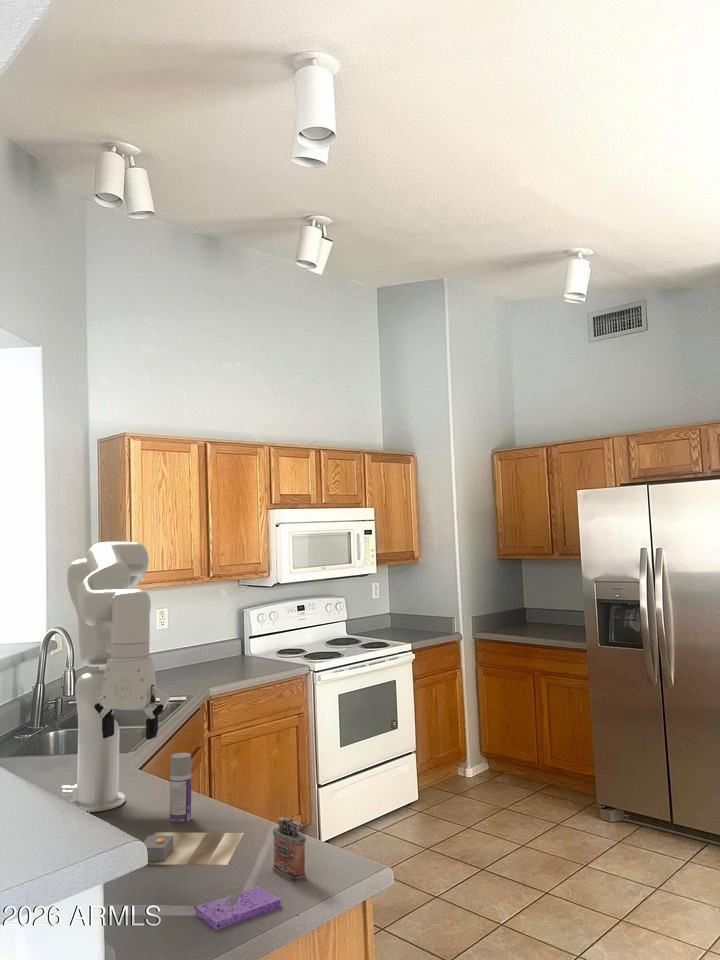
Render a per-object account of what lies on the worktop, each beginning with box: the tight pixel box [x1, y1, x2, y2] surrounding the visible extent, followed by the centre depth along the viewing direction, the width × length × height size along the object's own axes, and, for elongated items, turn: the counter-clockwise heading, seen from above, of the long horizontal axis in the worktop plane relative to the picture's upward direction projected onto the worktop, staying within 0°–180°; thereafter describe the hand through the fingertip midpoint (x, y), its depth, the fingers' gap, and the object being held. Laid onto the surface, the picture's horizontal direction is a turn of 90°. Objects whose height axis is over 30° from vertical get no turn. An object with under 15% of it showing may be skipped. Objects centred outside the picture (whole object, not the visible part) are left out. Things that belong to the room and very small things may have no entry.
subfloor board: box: [147, 831, 245, 866], centre depth 151 cm, size 19×16×1 cm
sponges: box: [195, 886, 282, 931], centre depth 127 cm, size 7×13×2 cm, turn 129°
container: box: [169, 752, 192, 824], centre depth 168 cm, size 5×5×15 cm
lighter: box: [272, 817, 307, 883], centre depth 141 cm, size 8×3×10 cm, turn 44°
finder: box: [143, 835, 173, 861], centre depth 147 cm, size 5×6×3 cm
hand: (129, 737), depth 152 cm, fingers open, 9 cm apart
